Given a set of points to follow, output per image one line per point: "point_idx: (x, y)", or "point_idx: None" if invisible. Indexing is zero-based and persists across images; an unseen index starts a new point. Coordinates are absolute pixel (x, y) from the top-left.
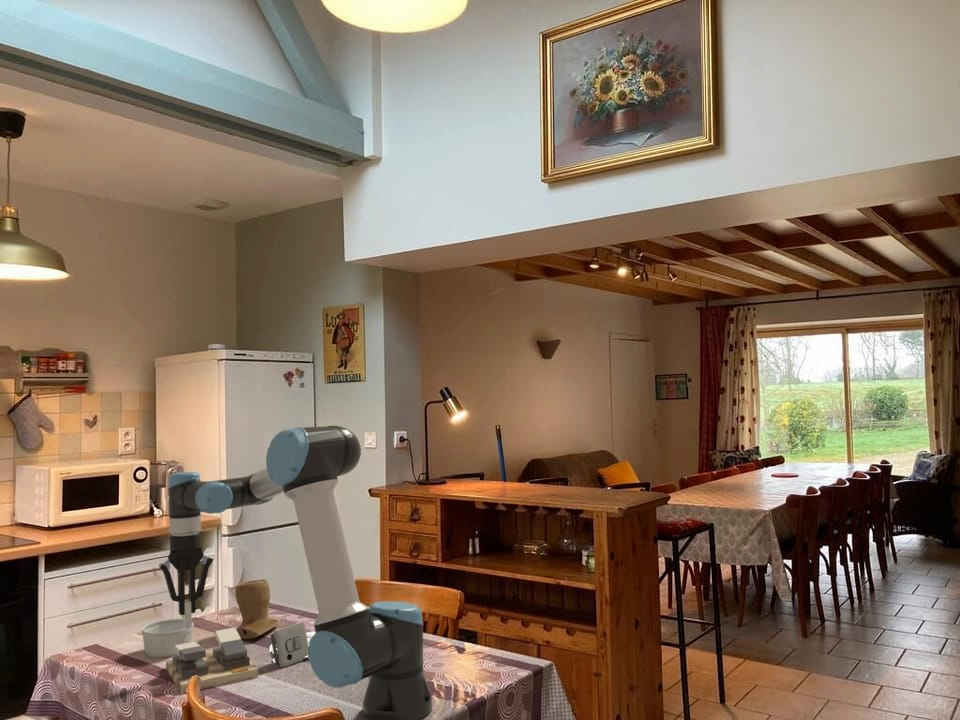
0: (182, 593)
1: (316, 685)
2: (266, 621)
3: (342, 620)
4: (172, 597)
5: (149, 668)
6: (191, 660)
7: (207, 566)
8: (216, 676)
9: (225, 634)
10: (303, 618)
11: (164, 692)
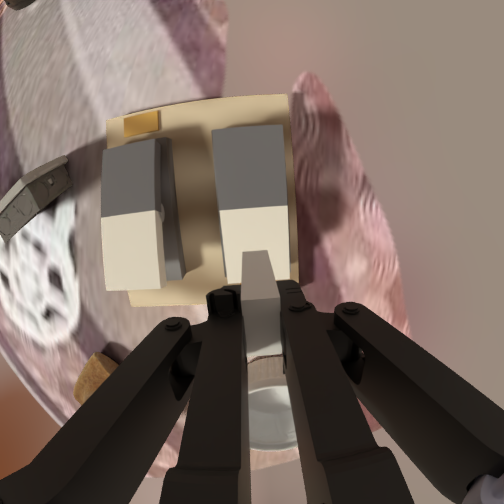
0: (306, 331)
1: (55, 52)
2: (85, 392)
3: None
4: (370, 312)
5: (326, 306)
6: None
7: (33, 478)
8: (199, 105)
9: (135, 257)
10: (54, 397)
11: (318, 128)
